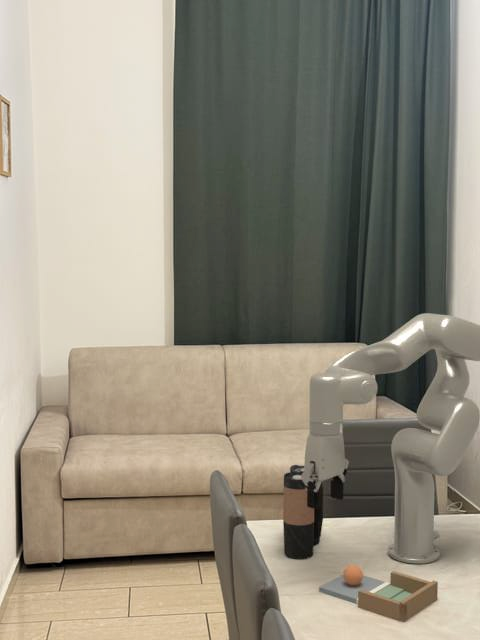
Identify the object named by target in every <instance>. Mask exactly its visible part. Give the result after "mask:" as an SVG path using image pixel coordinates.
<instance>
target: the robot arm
mask: <svg viewBox="0 0 480 640" xmlns="http://www.w3.org/2000/svg"><path fill="white" fill-rule="evenodd" d="M431 350H434V352H435V354H436V360H437V370H436V373H435V376H433V377H434V378H433V379H432V381H431V383H430V385H429V387H428V388H427V390H426V392H425V394H424V396H423V397H422V399H421V401H420V403H419V405H418V408H417V410H416V416H415V417H416V419H417V422H418V423H419V424H420V425H421V426H423V427H424V428H427V429H429V430H431V431H436V432H439V434H438V433H435V432H431V431H427V430H425V429H421V428H417V427H415V428H414V427H405V428H403V429H401V430H398V431H397V433H395V435H394V436H393V439H392V441H391V445H390V447H391V448H390V450H391V457H392V462H393V467H394V531H393V532H394V534H393V535H394V536H393V538H394V539H393V543H391V544H390V545H389V546H388V547H387V554H388V556H389V557H391V558H392V559H394V560H395V561H398V562H403V563H406V564H407V563H408V564H429V563H433V562H436V561H437V560H438V559H439V558H440V555H441V554H440V553H441V552H440V550H439V548H437V547H436V546H434V542H435V541H436V540H437V539H439V538H440V533H439V532H438V531H436V530H435V528H434V527H435V525H434V524H435V522H434V521H435V489H436V488H435V482H434V481H435V480H434V476H439V477H446V476H449V475H451V474H452V473H453V472H454V471H455V470H456V469H457V468H458V466H459V464H460V463H461V461H462V459H463V457H464V456H465V453H467V450H468V448H469V446H470V444H471V443H472V441H473V439H474V437H475V434H476V433H477V430H478V428H479V425H480V409H479V406H478V404H476V402H475V401H473V400H472V399H470V398H467V397H465V394H466V393H467V391H468V388H469V386H470V373H469V368H468V366H467V363H466V361H474V362H480V324H478V323H476V322H475V323H474V322H472V321H469V320H466V319H463V318H461V317H457V316H453V315H450V314H438V313H428V312H427V313H426V312H425V313H420V314H417V315H416V316H414V317H412V318H411V319H410V320H409V321H407V322H406V323H405V324H402V326H400V327H399V328H397V329H396V330H395V331H394V332H392V333H391V334H390V335H388V336H387V337H385V338H384V339H383V340H381V341H377V342H375V343H372V344H369V345H366V346H364V347H361V348H359V349H356V350H353V351H351V352H349V353H346V355H344V356H342V357H341V358H339V359H337V360H336V361H335V362H333V363H332V364H331V365H330V366H329V367H328V368H327V369H325V371H324V372H321V373H320V372H319V373H318V372H317V373H315V374H313V375H311V376H310V378H309V379H310V380H309V419H308V420H309V422H308V423H309V424H308V425H309V426H308V428H309V432H308V433H309V435H308V436H307V439H306V445H305V452H304V462H303V463H304V465H303V466H304V472H303V473H302V475H301V478H302V480H303V484H304V486H305V489H306V490H307V506H308V507H310V508H314V509H320V492H319V491H318V490H319V487H320V485H321V482H322V483H323V482H324V481H327V480H330V479H331V480H330V498H331V499H334V500H335V499H336V500H340V501H342V500H344V485H345V484H344V483H345V482H346V475H347V473H348V471H347V470H348V467H349V465H350V464H349V463H350V461H349V460H348V459H347V458H346V457H345V456H346V455H345V453H346V452H345V443H344V442H345V441H344V435H343V434H344V405H357V406H360V405H361V406H362V405H366V404H368V403H370V402H372V400H374V399H375V397H376V395H377V394H378V387H379V386H378V383H377V381H376V379H375V378H374V377H373V376H374V375H382V374H391V373H397V372H401V371H404V370H406V369H407V368H408V367H409V366H411V365H412V364H413V363H414V362H416V361H417V360H418V359H420V358H421V357H422V356H424V355H425V354H426V353H428V352H429V351H431ZM433 475H434V476H433ZM314 476H318V478H317V477H314ZM313 481H316V484H315V485H314V484H313Z"/></svg>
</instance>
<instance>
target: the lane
mask: <svg viewBox="0 0 480 640" xmlns="http://www.w3.org/2000/svg"><path fill="white" fill-rule="evenodd" d="M438 586H439V582H438V581H437V580H432V581H430V580H425V579H422V578H419V577H415V576H411V575H408V574H405V573H402V572H398V571H394V570H393V571H390V582H387V581H384V580H381V579H377V578H374V577H370V576H367V575H365V574H363V579H362V581H361V582H360V583H359V584H358V585H349V584H348V583H347V582H346V581H345V580H344V577H343V574H341V575H339V576H337V577H336V578H333V579H332V580H330V581H328V582H326V583H324V584H322V585H320V586H319V587H318V591H319V592H320V593H323V594H326V595H329V596H332V597H335V598H338V599H342V600H343V601H348V602H351V603H354V604H357V607H358V608H360V609H363V610H366V611H369V612H372V613H376V614H378V615H381V616H385V617H387V618H390V619H393V620H397V621H400V622H402V623H404V622H406V621H407V620H409V619H410V618H412V617H413V616H415V615H417V614H418V613H419V612H421V611H422V610H424V609H425V608H426V607H428V606H430V605H432V604H433V603H434V602H436V601H437V600H438V591H439V590H438V588H439V587H438Z"/></svg>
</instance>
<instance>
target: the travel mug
mask: <svg viewBox="0 0 480 640" xmlns="http://www.w3.org/2000/svg"><path fill="white" fill-rule="evenodd" d="M302 473H303V472H299V473H297V474H291V473H290V472H285V474H284V475H283V501H282V503H283V507H282V508H283V511H282V513H283V514H282V515H283V517H282V518H283V520H282V521H283V524H282V525H283V553H284V556H286V557H287V558H288V559H293V560H306V559H309V558H311V557H313V555H314V546H313V540H314V508H310V507H308V506H307V490H306V489H305V486H304V484H303V480H302V478H301V475H302ZM313 484H314V481H313Z"/></svg>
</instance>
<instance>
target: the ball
mask: <svg viewBox="0 0 480 640" xmlns="http://www.w3.org/2000/svg"><path fill="white" fill-rule="evenodd" d="M342 575H343V577H344V580H345V581H346V582H347V583H348V584H349V585H358V584H359V583H360V582H361V581H362V579H363V575H364V572H363V570H362V568H361V567H359V566H358V565H356V564H351V565H348V566H346V567H345V568H344V570H343V574H342Z"/></svg>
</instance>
